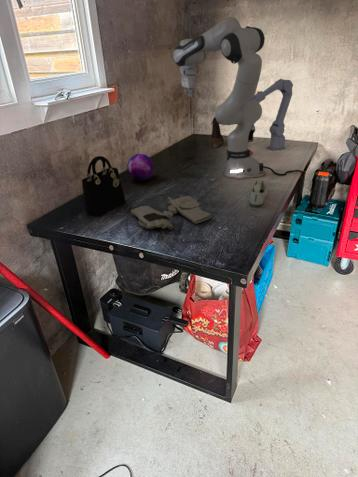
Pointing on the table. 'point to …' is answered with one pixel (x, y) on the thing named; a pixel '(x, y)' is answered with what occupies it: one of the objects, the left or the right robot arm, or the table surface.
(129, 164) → the decorative orb
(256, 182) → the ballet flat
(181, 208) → the pair of gloves
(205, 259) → the table surface
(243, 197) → the table surface
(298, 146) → the table surface
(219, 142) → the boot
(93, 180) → the handbag
